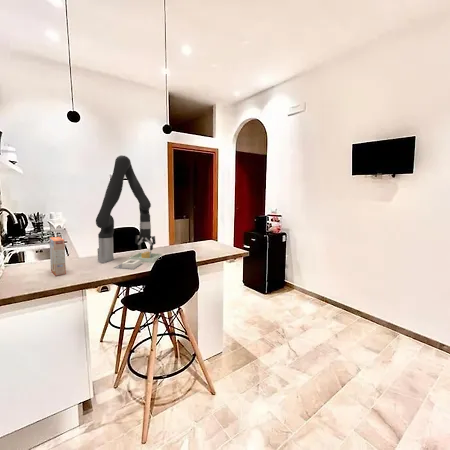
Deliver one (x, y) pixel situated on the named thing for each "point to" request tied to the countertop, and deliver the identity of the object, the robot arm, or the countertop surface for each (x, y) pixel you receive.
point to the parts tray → (138, 257)
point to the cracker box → (57, 255)
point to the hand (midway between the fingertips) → (145, 250)
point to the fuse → (146, 254)
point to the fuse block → (129, 264)
